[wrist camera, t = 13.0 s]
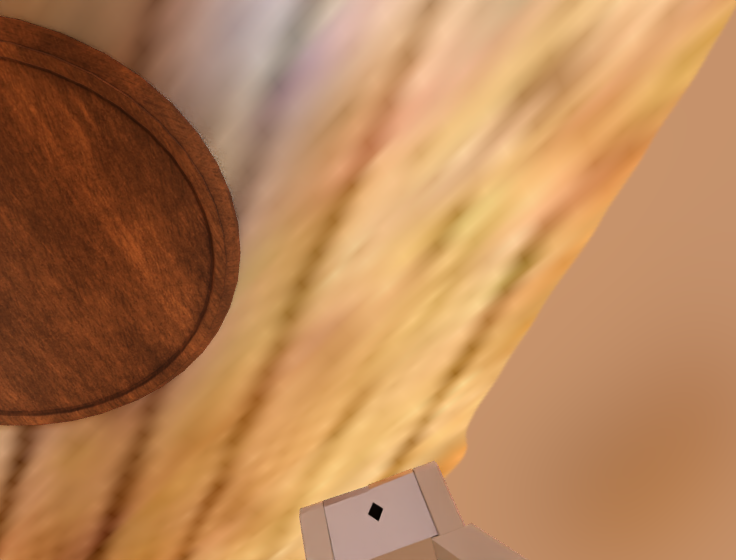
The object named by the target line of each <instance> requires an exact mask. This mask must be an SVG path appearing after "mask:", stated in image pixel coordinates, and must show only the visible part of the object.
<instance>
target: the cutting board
mask: <svg viewBox="0 0 736 560" xmlns="http://www.w3.org/2000/svg"><path fill="white" fill-rule="evenodd" d="M239 262H240V243H239V230H238V221H237V217H236V213H235V210H234V206H233V202H232V198H231V194H230V191H229V189H228V187H227V185H226V182H225V180H224V178H223V175H222V173H221V171H220V169H219V166H218V164H217V162H216V161H215V159H214V158H213V156H212V154H211V153H210V151H209V150H208V148H207V147H206V145H205V144H204V142H203V140H202V139H201V137H200V136H199V134H198V133H197V132H196V130H195V129H194V128H193V127H192V126H191V125H190V124H189V122H188V121H187V120H186V119H185V118H184V117H183V116H182V114H181V113H180V112H179V111H178V110H177V109H176V108H175V106H174V105H173V104H172V103H171V102H169V101H168V100H167V99H166V98H165V97H164V96H162V95H161V94H160V93H159V92H158V91H157V90H156V89H154V88H153V87H152V86H151V85H150V84H149V83H147V82H146V81H145V80H144V79H143V78H142V77H140V76H139V75H137V74H136V73H134V72H132V71H131V70H129V69H128V68H126V67H125V66H123V65H122V64H120V63H119V62H117V61H116V60H114V59H113V58H111V57H109V56H108V55H106V54H105V53H103V52H101V51H98V50H96V49H94V48H92V47H90V46H88V45H86V44H84V43H82V42H80V41H77V40H75V39H73V38H71V37H69V36H67V35H65V34H62V33H59V32H56V31H53V30H50V29H47V28H44V27H40V26H37V25H34V24H31V23H28V22H25V21H22V20H19V19H13V18H7V17H1V16H0V425H43V424H51V423H59V422H67V421H73V420H78V419H82V418H86V417H90V416H94V415H98V414H102V413H104V412H107V411H110V410H112V409H115V408H118V407H120V406H123V405H126V404H128V403H131V402H134V401H136V400H138V399H140V398H142V397H144V396H146V395H147V394H149V393H151V392H153V391H155V390H157V389H159V388H161V387H162V386H164V385H165V384H166V383H168V382H169V381H171V380H172V379H173V378H175V377H176V376H177V375H179V374H180V373H182V372H183V371H184V370H185V369H186V368H187V367H188V366H189V365H190V364H191V363H192V362H193V361H194V360H195V359H196V358H197V357H198V356H199V355H200V354H201V353H202V352H203V351H204V350H205V348H206V347H207V346H208V344H209V343H210V341H211V340H212V339H213V337H214V336H215V335H216V333H217V332H218V330H219V328H220V326H221V324H222V322H223V320H224V318H225V316H226V314H227V312H228V310H229V308H230V305H231V302H232V298H233V295H234V291H235V288H236V284H237V281H238V272H239Z"/></svg>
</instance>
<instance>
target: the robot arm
mask: <svg viewBox="0 0 736 560" xmlns="http://www.w3.org/2000/svg"><path fill="white" fill-rule="evenodd" d="M299 518H300V524H301V531H302V537H303V544H304V550H305V557H306V560H528V559H526V558H525V557H523V556H521V555H520V554H518V553H517V552H515V551H514V550H512V549H511V548H509V547H508V546H506V545H505V544H503V543H501V542H500V541H498V540H497V539H495V538H494V537H492V536H491V535H489V534H487V533H486V532H485V531H483V530H481V529H480V528H478V527H477V526H475V525H474V524H472V523H471V524H468V525H465V524H464V522H463V520H462V518H461V515H460V513H459V511H458V509H457V507H456V504H455V502H454V500H453V498H452V496H451V493H450V491H449V489H448V487H447V485H446V482H445V480H444V478H443V476H442V473H441V471H440V469H439V467H438V465H437V464H436V463H435V462H434V461H432V462H430V463H427V464H424V465H421V466H419V467H416V468H413V469H409V470H406V471H404V472H401V473H398V474H396V475H393V476H390V477H388V478H385V479H382V480H380V481H377V482H374V483H372V484H369V485H368V486H366V487H363V488H360V489H357V490H354V491H351V492H348V493H345V494H342V495H339V496H336V497H333V498H330V499H327V500H324V501H321V502H318V503H315V504H313V505H310V506H307V507H304V508H301V509H300V514H299Z"/></svg>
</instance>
